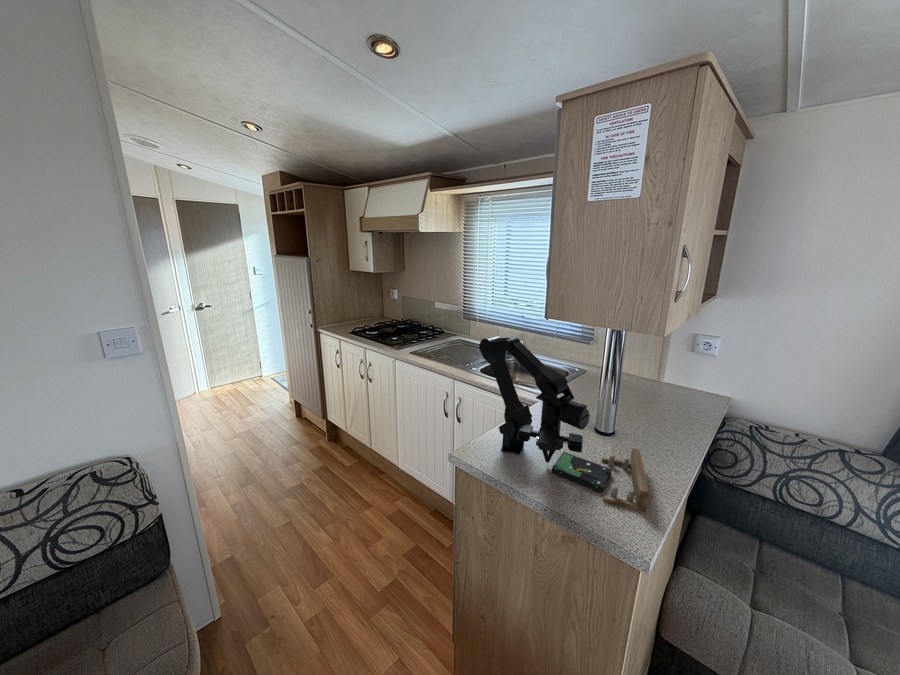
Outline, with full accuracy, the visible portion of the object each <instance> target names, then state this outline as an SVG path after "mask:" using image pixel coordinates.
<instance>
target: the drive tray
mask: <svg viewBox="0 0 900 675" xmlns="http://www.w3.org/2000/svg"><path fill="white" fill-rule="evenodd" d="M630 453H631V454H630V458H629V457H626V456H624V457H623V458H622V459H617V458H615V457H616V456H615V455H614V454H613V453H612V454H609V455H608V457H607V456H601V463H606V464H607V467H608V468H614V465H616V466H621V469H622V470H623V471H628V469H629V471H630V478H631V482H632V489H630V488H628V490H627V496H626V499H622V498H618V493H619V487H618V486H617V485H613V484H612V486H611V490H610V496H609V495H605V494H603V498H602V499H603V502H604V503H607V504H611V505H614V506H619V507H624V508H627V509H630V510H635V511H639V512H643V513H646V511H647V507H648V501H649V495H650V491H649V490H650V489H649V486H648V481H647V477H646V471H645V468H644V463H643V459H642V455H641V450H640V449H637V448H632V449H631V452H630ZM634 500H635V501H634Z"/></svg>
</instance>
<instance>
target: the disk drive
mask: <svg viewBox="0 0 900 675" xmlns="http://www.w3.org/2000/svg"><path fill="white" fill-rule="evenodd" d="M550 470H551V472H550V473H551V474H553V475H555V476H557V477H560V478H562V479H565V480H567V481H569V482H572V483H573V484H574V483H575V484H576V485H579V486H581V487H584V488H587V489H589V490H591V489H592V490H591V491H594V492H596V493H599V494H601V493H602V494H603V493H604V490H605V488H606V487H607V484H608V483H609V481H610V478H611V477H612V472H613V471H612V470H613V469H612V468H611V467H608V466H604V465H601V464H598V463H596V462H592V461H590V460H588V459H585V458H582V457H579V456H576V455H573V454H571V453H568V452H565V451H563V452H562V453H561V455H559V457H558V458H557V460H556V462H555V463H554V464H553V465H552V468H551V469H550Z"/></svg>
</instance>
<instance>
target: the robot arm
mask: <svg viewBox="0 0 900 675" xmlns="http://www.w3.org/2000/svg"><path fill="white" fill-rule="evenodd" d="M478 348H479V352H480V353H481V355H482V357H483V360H485V361H486V363H487V364H489V365H490V366H491V369H492V372H493V376H494V377H495V381H496V384H497V386H498V389H499V392H500V394H501V398H502V400H503V401H502V402H503V404H504V407H505V408H504V414H503V418H504V421H505V422H504V423H503V424H500V426H498V430H499V433H500V435H502V444H501V448H500V451H502V452H506V453H509V454H510V453H512V454H516V455H521V453H522V451H523V450H524V448H525V442H529V441H530V440H531V438H535V439H536V442H535V446H537V447H538V450H541V451H542V455H543V457H544V461H545V463H547V464H549V463H550V461H551V460H552V457H553V455H554V453H555V452H557V451H561V450H562V449H563V448H564V444H565V445H567V449H568V450H569V451H570V452H574V453H575V452H576V453H579V454H580V453H582V452H583V451H582V450H583V441H584V437H583V435H582V434H578V433H577V434H576V433H571V432H569V434H568V436H566V435H565V436H564V435H562V434H561V423H563V424H565V425H569V426H571V427H574V428H576V429H578V430H581V431H583V430H584V429H585V428H586V427H587V426H588V424H589V421H590V416H591V415H590V412H589V409H587V408H588V407H587V405H586V404H583V403H579V402H577V401H573V400H575V396H574V394H573V392H572V391H571V388H570V387H569V385H568V380H567V378H566V377H565V376H564V375H563V374H561V373H560V372H559V371H557V370H556V369H553V368H550V367H548V366H546V365H545V364H544V363H543V362H542V361H541V360H540V359H539V358H537V357H536V355H535V354H534V353H532V352H531V351H530V350H529V349H528V348H527V347H526V345H524V344H523V343H522V342H521V340H520V338H518V337H516V336H513V337H501V336H499V335H494V336H490V337H486V338H482V339H481V340H480V342H479V344H478ZM507 353H508V354H510V355H511V356H512V357H513V358H514V359H515V361H516V362H517V363H519V364H520V365H521V366H522V368H524V370H526V372H528V374H530V375H531V377H532V378H533V379H534V381H535V386H536V387H537V389H538V390H539V391H540V394H539V395H537V396H535V398H536V399H537V400H539V401H541V402H542V404H541V405H542V406H541V416H540V417H541V418H540V428H539V430H537V431H536V430H534V427H533V425H532V423H533V415H532V413H531V411H530V407H529V405H528V404H526V405H525V404H523V402H521V401H520V398H519V396H518V393H517V389H516V387H515V384H514V381H513V380H512V376H511V374H510V371H509V368H508V365H507V361H506V355H507ZM561 394H563V395H561ZM560 395H561V396H560ZM558 396H560V397H558Z"/></svg>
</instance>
